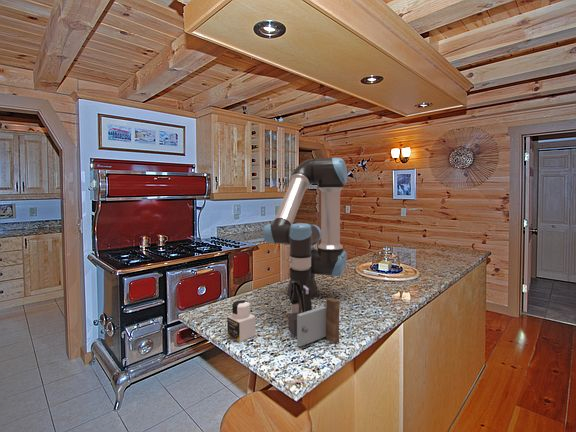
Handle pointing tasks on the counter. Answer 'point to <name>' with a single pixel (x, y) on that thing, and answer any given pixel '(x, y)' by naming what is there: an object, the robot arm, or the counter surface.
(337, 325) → the doorframe
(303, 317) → the door
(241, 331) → the medicine bottle
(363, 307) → the counter surface
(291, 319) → the dark grey block
